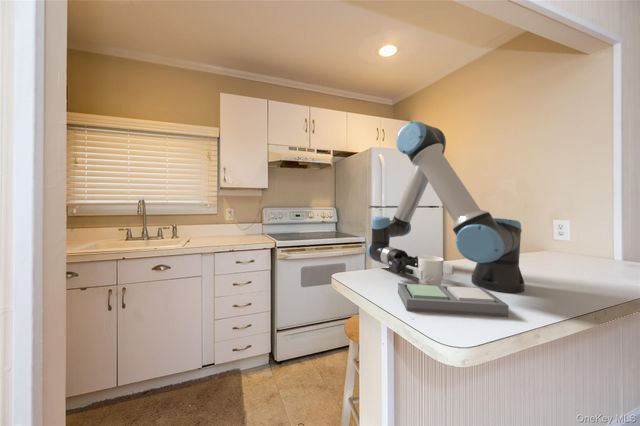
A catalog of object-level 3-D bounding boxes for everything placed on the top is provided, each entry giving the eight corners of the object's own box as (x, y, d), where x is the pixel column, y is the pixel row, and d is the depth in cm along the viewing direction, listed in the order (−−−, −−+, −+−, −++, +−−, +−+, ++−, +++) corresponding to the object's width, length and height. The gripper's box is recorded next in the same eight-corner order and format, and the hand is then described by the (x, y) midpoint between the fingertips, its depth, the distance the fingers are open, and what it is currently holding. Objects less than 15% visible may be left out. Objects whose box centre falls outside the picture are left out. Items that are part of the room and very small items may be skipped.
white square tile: (478, 291, 77) (478, 287, 76) (494, 303, 68) (494, 299, 68) (446, 289, 78) (447, 286, 78) (458, 301, 69) (459, 297, 69)
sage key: (436, 289, 78) (436, 285, 78) (447, 300, 69) (447, 296, 69) (406, 287, 79) (406, 284, 79) (413, 298, 70) (413, 294, 70)
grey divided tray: (481, 297, 79) (482, 287, 78) (507, 316, 66) (508, 305, 65) (397, 292, 82) (398, 283, 81) (406, 310, 69) (407, 299, 68)
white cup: (445, 292, 82) (446, 261, 81) (419, 290, 84) (420, 260, 83) (439, 284, 90) (440, 256, 89) (415, 282, 91) (416, 254, 91)
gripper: (418, 264, 108) (464, 279, 88) (368, 270, 98) (407, 288, 79) (419, 246, 107) (465, 257, 88) (368, 250, 98) (407, 264, 78)
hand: (438, 272), depth 83 cm, fingers open, 13 cm apart
